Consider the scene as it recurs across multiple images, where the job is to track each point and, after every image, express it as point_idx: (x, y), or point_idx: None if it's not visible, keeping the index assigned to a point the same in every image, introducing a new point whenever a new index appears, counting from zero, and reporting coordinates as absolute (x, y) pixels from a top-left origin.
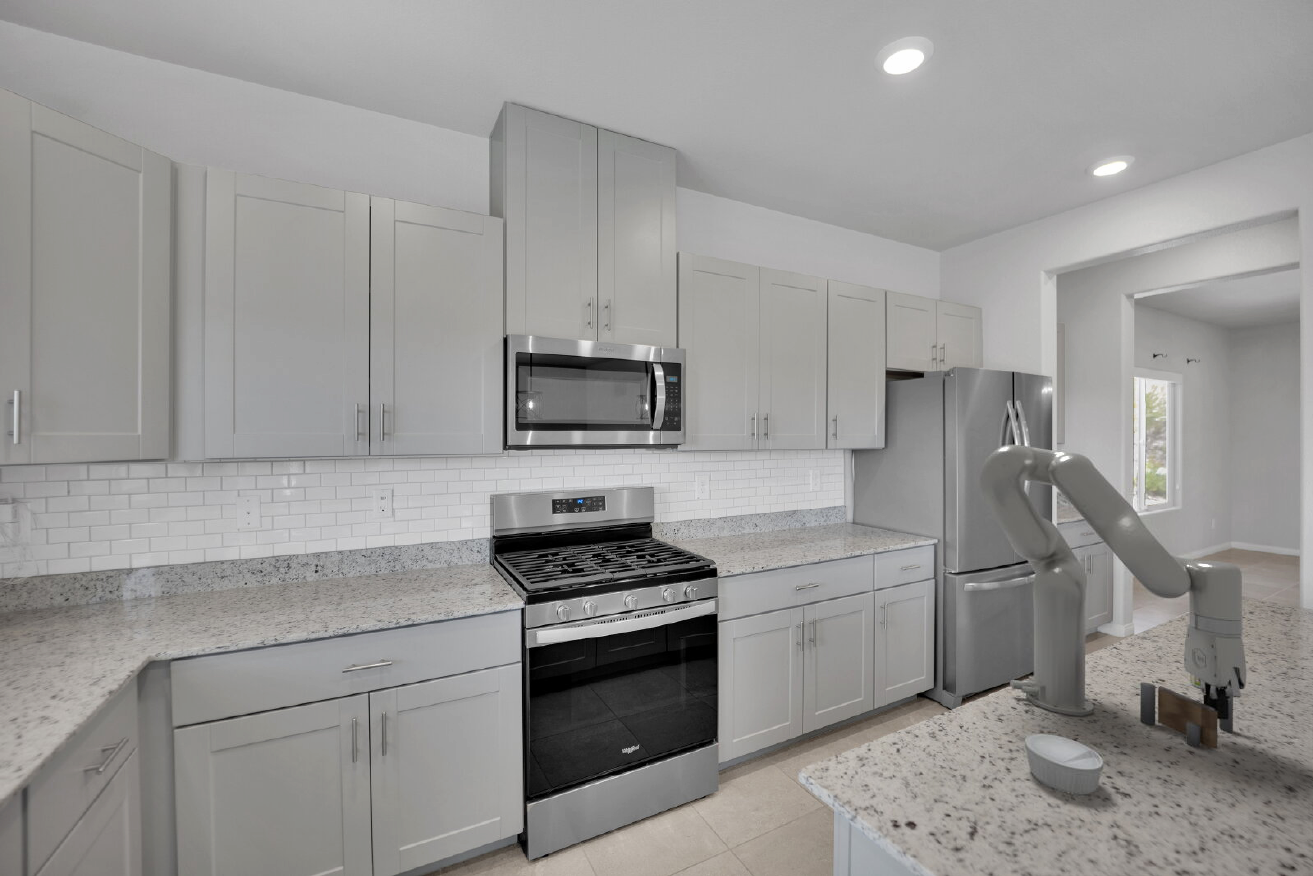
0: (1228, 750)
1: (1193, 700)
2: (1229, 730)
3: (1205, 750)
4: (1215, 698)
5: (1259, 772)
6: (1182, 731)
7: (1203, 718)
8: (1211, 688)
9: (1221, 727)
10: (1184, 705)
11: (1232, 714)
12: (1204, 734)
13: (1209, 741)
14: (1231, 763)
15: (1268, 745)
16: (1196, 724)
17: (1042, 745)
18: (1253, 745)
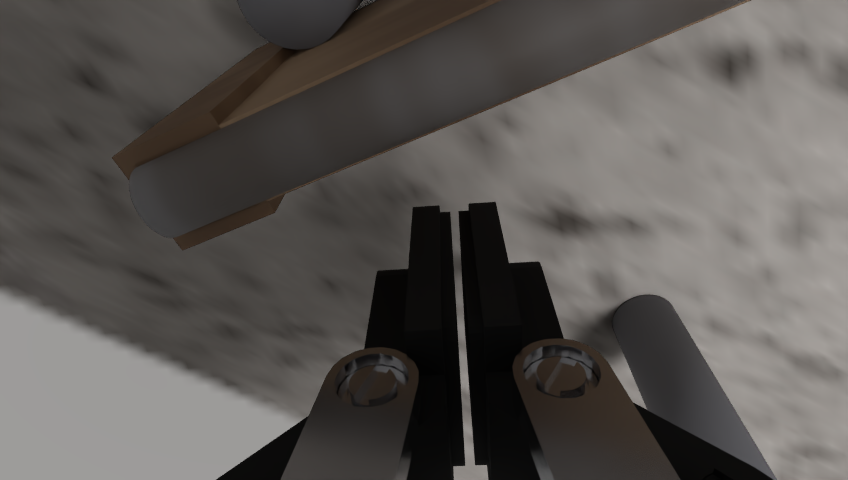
0: (339, 180)
1: (358, 107)
2: (615, 327)
3: None
4: (334, 377)
5: (81, 188)
6: None
7: (229, 85)
8: (379, 471)
9: (643, 306)
10: (450, 4)
11: None
12: (269, 50)
13: (244, 58)
14: (126, 89)
15: None
16: (308, 26)
17: None
18: (464, 344)
